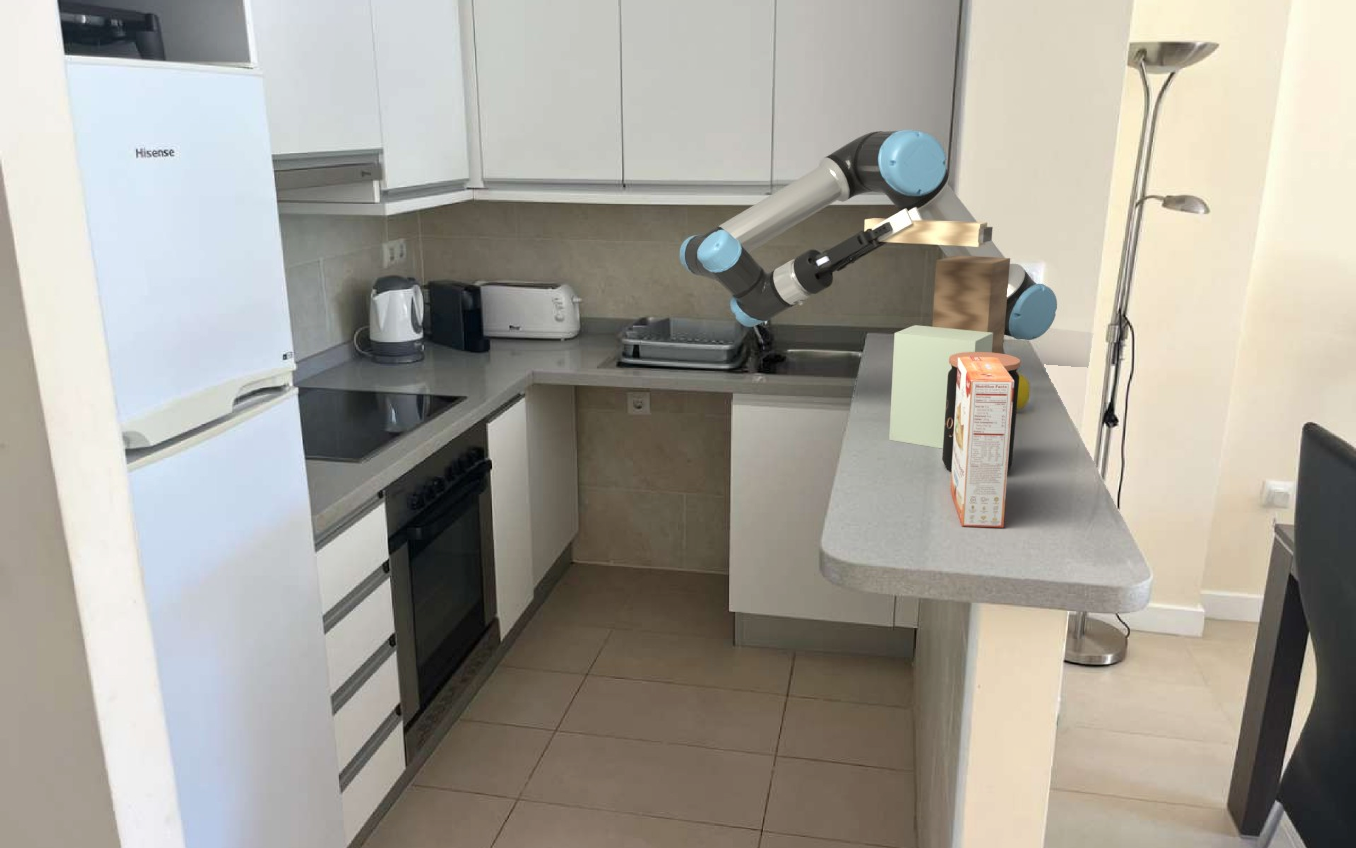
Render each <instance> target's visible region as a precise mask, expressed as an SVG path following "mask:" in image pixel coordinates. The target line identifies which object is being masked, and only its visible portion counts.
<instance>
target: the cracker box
mask: <svg viewBox="0 0 1356 848" xmlns="http://www.w3.org/2000/svg"><path fill="white" fill-rule="evenodd" d="M1013 393H1014V380H1013V379H1012V377H1011V376H1010V374H1009V373H1008V372H1007V370H1006V369H1005V368H1004V366H1003V365H1002V364H1001V362H1000V361H999V359H998V358H994V357H959V358H958V366H957V385H956V405H955V420H954V439H953V456H952V472H950V474H951V476H950V494H951V497H952V499H953V502H954V505H955V508H956V512H957V515H958V518H959V522H960V524H961V526H962V527H970V528H971V527H973V528H975V527H977V528H978V527H979V528H980V527H981V528H1000V529H1002V528H1004V523H1005V511H1006V509H1005V508H1006V494H1007V481H1008V471H1007V469H1008V457H1009V443H1010V430H1011V418H1012V406H1013Z"/></svg>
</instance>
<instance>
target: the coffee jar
mask: <svg viewBox="0 0 1356 848" xmlns="http://www.w3.org/2000/svg"><path fill="white" fill-rule="evenodd" d="M959 357H994V358H998V359H999V361H1000V362H1001V364H1002V365H1003V366H1004V368H1005V369H1006V370H1007V372H1008V373H1009V374H1010V376H1011V377H1012V379H1013V380H1014V393H1013V406H1012V418H1011V430H1010V443H1009V457H1008V469H1007V472H1008V471H1010V469H1011V467H1012V465H1013V456H1014V444H1015V432H1016V423H1017V422H1016V420H1017V411H1018V410H1017V399H1018V388H1019V375H1018V373H1019V372H1018V371H1017V370H1018V369H1019V368H1020V367H1021V359H1019V358H1018V357H1016V356H1013V355H1010V354H1006V353H1005V354H1000V353H991V352H963V353H957V354H954V355H951V356H950V357H949V363H950V364H951V366H952V369H951V370H950V371H949V372H948V380H947V395H946V410H945V425H944V440H943V449H942V457H941V458H942V459H941V460H942V462H943V464H944V466H945V468H946V470H947V471H948V472H950V473H952V456H953V439H954V420H955V405H956V385H957V366H958V358H959ZM1017 372H1018V373H1017Z"/></svg>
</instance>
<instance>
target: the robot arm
mask: <svg viewBox="0 0 1356 848" xmlns="http://www.w3.org/2000/svg"><path fill="white" fill-rule="evenodd" d="M946 161H947V154H946V152H945V150H944V147H943V146H942V145H941V143H940V142H939V141H938V140H937V138H935V137H934V136H933V135H932V134H929V133H926V132H923V131H919V130H915V129H903V130H889V131H883V130H882V131H881V130H879V131H872V132H869V133H865V134H864V135H861V136H859V137H856V139H853V140H852V141H850V142H848V143H846V144H845V145H843V146H841V147H840V148H839V149H837V150H835V151H833V152H831V154H828V155H827V156H825V157H823V158H822V159H821V160H820V162H819V165H818V167H817V168H815V169H813V170H812V171H810V172H808V173H806V174H805V175H803V176H801V177H799V178H798V179H796V180H794V181H793V182H790V183H789V184H787V185H786V186H784V187H782V188H781V189H779V190H777V191H776V192H774V193H772V194H770V195H769V196H767V197H766V198H763V199H762V200H760V201H759V202H757V203H756V204H754V205H752V206H750V207H748V208H747V209H745V210H743V211H742V212H740V213H738V214H736V215H734V216H733V217H731V218H729V219H728V220H726V221H725V222H723V223H721V224H720V225H718V226H717V227H715V228H712V229H711V230H709V231H707V232H705V233H704V234H697V235H691V236H689V237H687V238H686V239H685V240H684V241H683V242H682V243H681V245H680V248H679V260H680V263H681V264H682V266H683V268H685V269H686V270H687V271H688V272H690V273H692V274H693V275H696V276H700V277H704V278H707V279H711V280H714V281H715V282H716V281H717V282H719V283H720V284H721V286H723V287H724V288H725V289H726V290H727V292H729V293H730V295H731V297H730V301H729V304H730V310H731V312H732V313H733V314H734V315H735V319H736V321H737V322H739V323H740V324H741V325H742V326H744V327H749V328H752V327H756V326H758V325H760V324H763V323H764V322H768V321H770V320H771V319H773V318H774V317H775V316H778V315H779V314H780V313H782V312H785V311H786V310H789V309H790V308H793V306H795V305H797V304H798V305H799V306H802V305H804V304H805V301H804V300H806V299H809V298H810V297H812V296H813V295H816V294H819V293H820V292H822V291H824V290H826V289H827V288H829V287H831V286H832V284H833V280H834V276H833V273H834V272H836V271H837V272H840V271H842V270H844V269H846V268H847V267H848V265H851V264H854V263H855V262H857V261H859V260H860V259H861V258H864V256H867V255H868V254H870V253H872V252H874V251H875V250H878V249H879V248H881V247H882V246H885V245H886V244H888V243H889V242H878V241H877V238H878V240H879V241H882V240H884V239H886V238H888V237H889V236H891V235H893V234H895V233H897V232H898V231H900V230H902V229H904V228H906V227H907V226H909V225H911V224H913V221H912V220H933V221H959V222H978V221H977V219H975V217H974V216H973V214H972V213H971V212H970V211H969V209H968V208H967V206H966V205H965V204H964V203H963V202H962V200H961V199H960V198H959V197H958V196H957V194H956V192H954V190H953V189H952V188H951V186H950V185H949V181H950V176H951V175H950V171H949V170H948V169H947V165H946ZM865 193H866V194H867V193H882V194H885V195H886V196H887V198H888V199H889V201H891V202H892V204H893V205H894V206H895V207H896V208H897V209H898V212H897V213H895V214H893V215H891V216H889V217H888V218H885V219H886V220H884V221H882V222H881V223H879V224H877V225H875V226H874V227H873V229H874V230H872V229H867V230H866V231H865V232H864V230H860V231H859V232H858V233H856V234H854V235H853V236H851V237H849V238H847V239H846V240H844V241H841V242H840V243H838V244H836V245H834V246H833V247H831V248H830V249H829V248H828V249H826V250H824V251H822V253H821V252H820V251H818V250H816V249H814V248H813V249H808V250H807V251H805V252H803V253H802V254H800V255H798V256H797V257H795V258H794V259H791V260H789V261H788V262H787V261H786V263H784V264H783V265H780V266H778V267H777V268H775V269H774V270H772V271H771V272H768V273H767V272H766V271H765V269H764V268H763V267H762V266H761V265H760V264H759V263H758V262H757V261H756V260H755V259H754V258H753V256H752V255H751V254H750V252H752V251H754V250H755V249H757V248H760V246H762V245H764V244H765V243H767V242H768V241H770V240H772V239H774V238H775V237H778V236H779V235H781V234H783V233H784V232H786V231H787V230H789V229H790V228H792V227H795V226H796V225H797V224H800V223H801V222H803V221H804V220H806V219H807V218H809V217H811V216H813V215H814V214H816V213H817V212H820V211H821V210H823V209H824V208H826V207H828V206H830V205H831V204H833V203H835V202H836V201H839V202H842V203H843V202H846V201H848V200H850V199H851V198H853V197H855V196H858V195H861V194H865ZM937 246H938V247H939V248H940V249H941V251H942V252H943V253H944V255H946V258H948V257H951V256H955V255H961V256H979V257H997V258H1006V257H1005V256H1004V255H1003V253H1002V252H1001V251H1000V249H999V247H998V246H996V243H994V242H993V240H992V241H988V242H986V245H983V246H979V247H973V246H954V245H937ZM1057 309H1058V301H1057V296H1056V294H1055V292H1054V290H1053V289H1051V287H1048V286H1047V285H1046V284H1043V283H1036V281H1034V279H1032V277H1031V276H1030V275H1029V273H1028V272H1027V270H1025V269H1024V267H1023V266H1022V265H1021V264H1018V263H1010V268H1009V280H1008V292H1007V305H1006V317H1005V330H1004V336H1008V337H1011V338H1013V339H1016V340H1023V341H1024V340H1025V341H1032V340H1036V339H1038V338H1040V337H1041V336H1043V335H1044V334H1045V333H1046V332H1048V330H1049V329H1050V328H1051V326H1052V324H1053V323H1054V321H1055V318H1056V311H1057ZM1003 354H1006V353H1005V349H1004V347H1003Z"/></svg>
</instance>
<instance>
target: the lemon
mask: <svg viewBox="0 0 1356 848" xmlns="http://www.w3.org/2000/svg"><path fill="white" fill-rule="evenodd" d="M1016 372H1017V373H1018V375H1019V388H1018V399H1017V411H1019V410H1020V409H1022V408H1024V407H1025V406H1026V405H1027V403H1028V402H1029V399H1030V394H1031V392H1030V391H1031V389H1030V388H1031V387H1030V384H1029V381H1028V379H1027V378H1026V377H1025V376H1024V375H1022V374H1021V373H1019V372H1018V371H1016Z"/></svg>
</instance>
